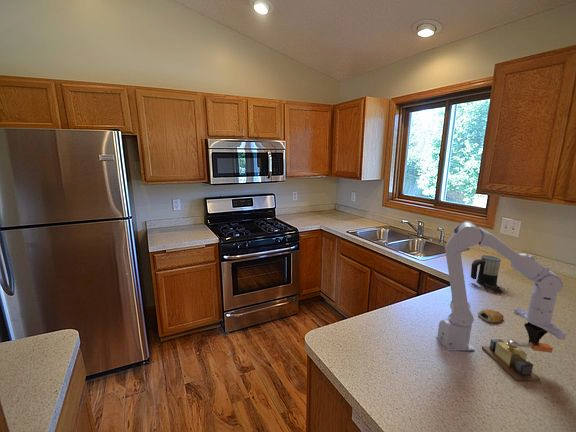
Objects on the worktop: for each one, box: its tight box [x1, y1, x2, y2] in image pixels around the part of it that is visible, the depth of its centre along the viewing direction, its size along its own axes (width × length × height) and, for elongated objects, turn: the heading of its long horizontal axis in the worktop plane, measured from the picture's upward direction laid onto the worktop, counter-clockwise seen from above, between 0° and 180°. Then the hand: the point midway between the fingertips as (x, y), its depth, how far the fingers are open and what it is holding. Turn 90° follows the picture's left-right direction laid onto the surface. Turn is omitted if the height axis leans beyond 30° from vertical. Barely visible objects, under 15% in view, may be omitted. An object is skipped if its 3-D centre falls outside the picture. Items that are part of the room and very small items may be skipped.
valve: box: [489, 338, 534, 375], centre depth 90 cm, size 5×13×5 cm, turn 2°
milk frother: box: [470, 254, 503, 293], centre depth 148 cm, size 14×16×15 cm
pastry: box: [477, 308, 505, 324], centre depth 118 cm, size 9×7×4 cm
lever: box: [506, 338, 554, 354], centre depth 89 cm, size 12×3×2 cm, turn 79°
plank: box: [481, 345, 541, 382], centre depth 91 cm, size 7×15×1 cm, turn 2°
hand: (533, 345), depth 90 cm, fingers closed, pressing on lever
